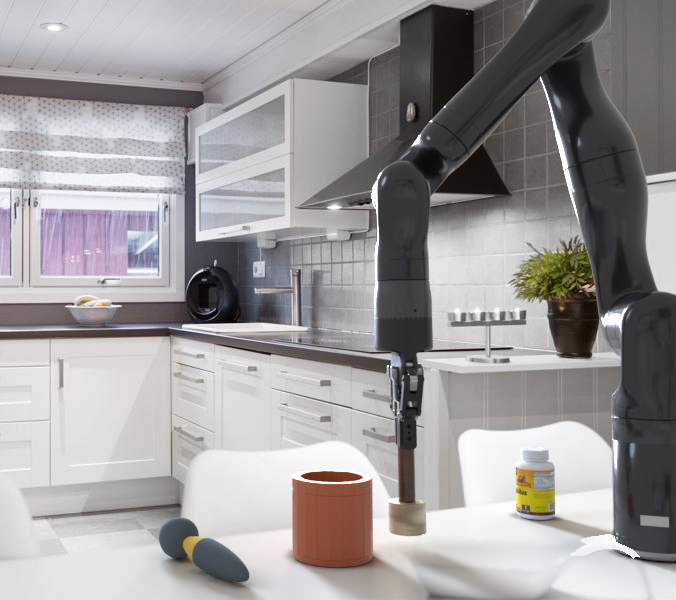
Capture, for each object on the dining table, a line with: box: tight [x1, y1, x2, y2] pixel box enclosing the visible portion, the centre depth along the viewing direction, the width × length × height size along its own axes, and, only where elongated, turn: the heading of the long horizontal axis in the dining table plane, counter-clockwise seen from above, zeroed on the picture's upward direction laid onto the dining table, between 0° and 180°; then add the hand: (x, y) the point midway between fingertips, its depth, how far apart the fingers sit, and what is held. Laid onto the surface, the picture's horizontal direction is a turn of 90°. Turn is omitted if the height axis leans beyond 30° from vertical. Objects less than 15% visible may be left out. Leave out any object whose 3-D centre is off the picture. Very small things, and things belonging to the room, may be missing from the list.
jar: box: [291, 469, 374, 568], centre depth 105 cm, size 10×10×10 cm
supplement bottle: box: [515, 446, 556, 521], centre depth 126 cm, size 6×6×10 cm
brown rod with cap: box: [387, 410, 428, 537], centre depth 108 cm, size 5×5×16 cm
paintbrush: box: [158, 516, 250, 583], centre depth 100 cm, size 20×5×5 cm, turn 38°
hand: (405, 446), depth 109 cm, fingers closed on brown rod with cap
